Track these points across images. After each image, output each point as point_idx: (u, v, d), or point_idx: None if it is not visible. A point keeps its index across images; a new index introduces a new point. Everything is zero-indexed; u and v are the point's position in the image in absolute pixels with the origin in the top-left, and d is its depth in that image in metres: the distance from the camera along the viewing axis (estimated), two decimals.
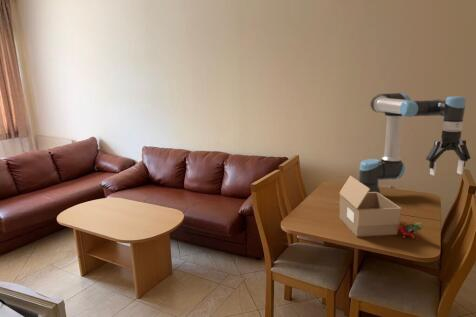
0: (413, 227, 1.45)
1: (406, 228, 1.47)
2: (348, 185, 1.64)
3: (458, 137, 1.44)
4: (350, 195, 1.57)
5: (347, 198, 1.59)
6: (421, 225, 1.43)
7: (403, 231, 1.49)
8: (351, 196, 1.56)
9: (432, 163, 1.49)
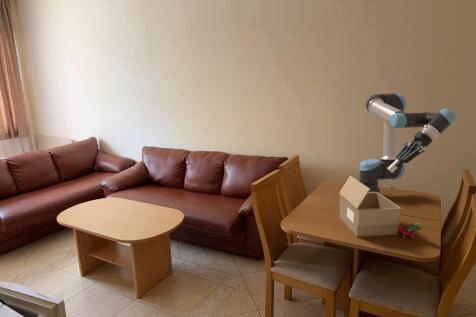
0: (413, 227, 1.45)
1: (406, 228, 1.47)
2: (348, 185, 1.64)
3: (418, 135, 1.52)
4: (350, 195, 1.57)
5: (347, 198, 1.59)
6: (421, 225, 1.43)
7: (403, 231, 1.49)
8: (351, 196, 1.56)
9: (396, 160, 1.56)
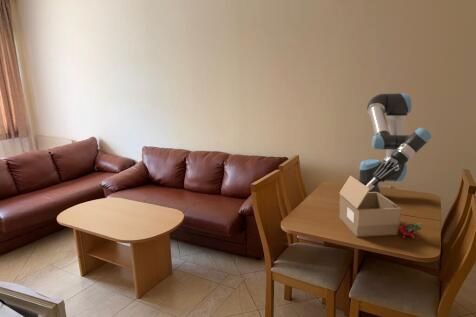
0: (413, 227, 1.45)
1: (406, 228, 1.47)
2: (348, 185, 1.64)
3: (394, 154, 1.53)
4: (350, 195, 1.57)
5: (347, 198, 1.59)
6: (421, 225, 1.43)
7: (403, 231, 1.49)
8: (351, 196, 1.56)
9: (373, 178, 1.58)
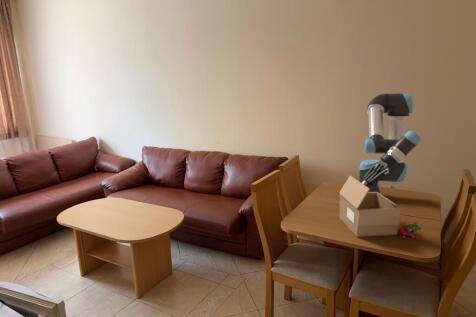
0: (413, 227, 1.45)
1: (406, 228, 1.47)
2: (348, 185, 1.64)
3: (384, 157, 1.53)
4: (350, 195, 1.57)
5: (347, 198, 1.59)
6: (421, 225, 1.43)
7: (403, 231, 1.49)
8: (351, 196, 1.56)
9: (363, 181, 1.58)
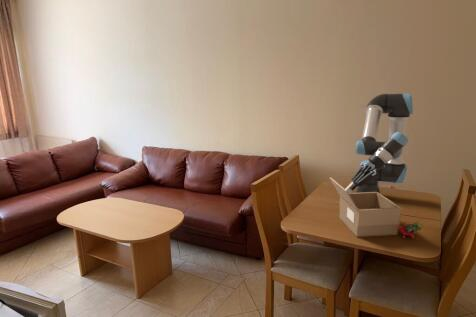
0: (413, 227, 1.45)
1: (406, 228, 1.47)
2: (336, 187, 1.63)
3: (371, 158, 1.53)
4: (344, 196, 1.57)
5: (345, 199, 1.59)
6: (421, 225, 1.43)
7: (403, 231, 1.49)
8: (345, 197, 1.56)
9: (351, 183, 1.57)
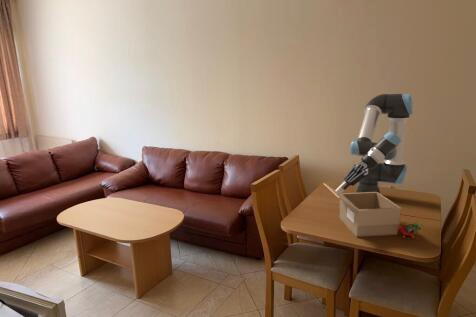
0: (413, 227, 1.45)
1: (406, 228, 1.47)
2: (333, 190, 1.64)
3: (364, 158, 1.52)
4: (343, 198, 1.58)
5: (345, 200, 1.59)
6: (421, 225, 1.43)
7: (403, 231, 1.49)
8: (344, 199, 1.56)
9: None
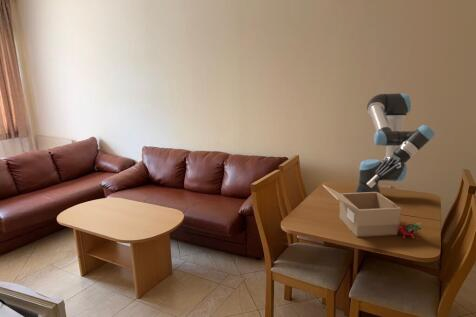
0: (413, 227, 1.45)
1: (406, 228, 1.47)
2: (332, 191, 1.64)
3: (396, 151, 1.53)
4: (343, 199, 1.58)
5: (345, 200, 1.59)
6: (421, 225, 1.43)
7: (403, 231, 1.49)
8: (344, 200, 1.56)
9: (375, 175, 1.58)
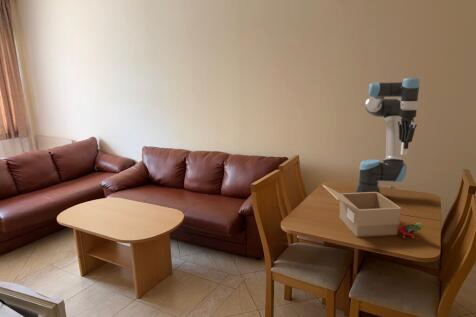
0: (413, 227, 1.45)
1: (406, 228, 1.47)
2: (332, 191, 1.64)
3: (401, 115, 1.60)
4: (343, 199, 1.58)
5: (345, 200, 1.59)
6: (421, 225, 1.43)
7: (403, 231, 1.49)
8: (344, 200, 1.56)
9: (402, 143, 1.66)
